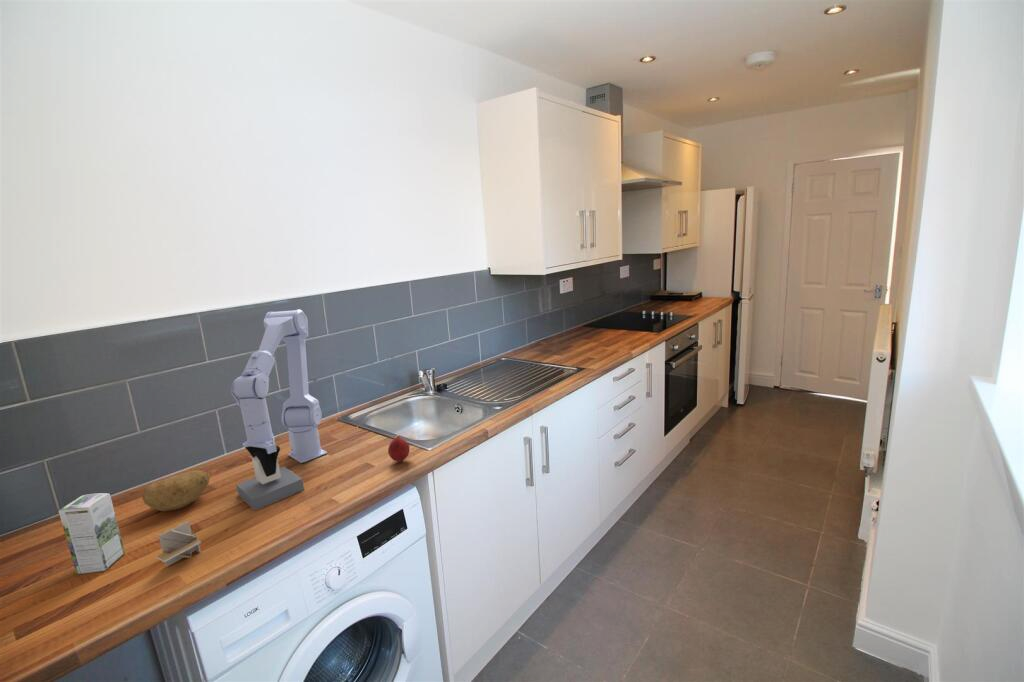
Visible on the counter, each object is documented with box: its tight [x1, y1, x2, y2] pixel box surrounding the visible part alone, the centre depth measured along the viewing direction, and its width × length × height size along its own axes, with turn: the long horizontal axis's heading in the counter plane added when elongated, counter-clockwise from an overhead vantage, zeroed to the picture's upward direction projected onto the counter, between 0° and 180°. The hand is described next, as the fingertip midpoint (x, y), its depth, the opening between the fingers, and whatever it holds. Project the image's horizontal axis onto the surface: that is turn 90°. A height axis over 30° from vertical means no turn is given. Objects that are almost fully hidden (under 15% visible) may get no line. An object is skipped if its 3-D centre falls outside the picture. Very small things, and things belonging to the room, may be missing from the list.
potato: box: [142, 470, 211, 512], centre depth 119 cm, size 10×14×8 cm
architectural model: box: [156, 520, 202, 567], centre depth 96 cm, size 3×7×7 cm, turn 149°
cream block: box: [251, 456, 281, 484], centre depth 121 cm, size 4×4×6 cm
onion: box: [387, 434, 410, 463], centre depth 133 cm, size 6×6×8 cm
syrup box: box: [58, 492, 125, 575], centre depth 97 cm, size 6×6×14 cm
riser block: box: [235, 465, 305, 511], centre depth 122 cm, size 12×12×3 cm
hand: (267, 472), depth 122 cm, fingers closed on cream block, 4 cm apart
